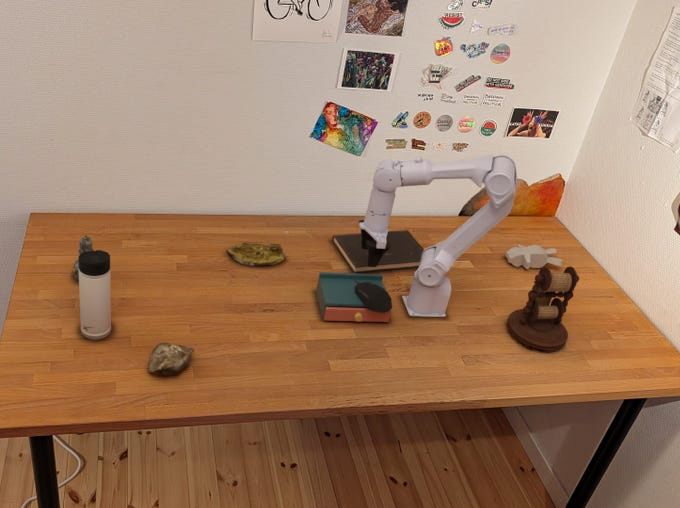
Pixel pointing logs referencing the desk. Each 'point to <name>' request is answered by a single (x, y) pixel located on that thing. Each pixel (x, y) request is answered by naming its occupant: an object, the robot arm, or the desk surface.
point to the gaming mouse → (373, 296)
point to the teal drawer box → (342, 289)
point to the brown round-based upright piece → (544, 310)
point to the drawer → (354, 314)
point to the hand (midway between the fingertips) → (368, 257)
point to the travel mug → (95, 294)
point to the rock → (169, 358)
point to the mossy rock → (256, 254)
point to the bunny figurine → (532, 256)
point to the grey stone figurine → (84, 246)
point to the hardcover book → (399, 256)
